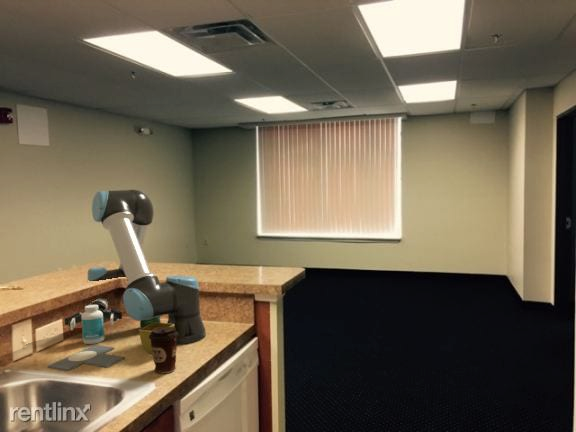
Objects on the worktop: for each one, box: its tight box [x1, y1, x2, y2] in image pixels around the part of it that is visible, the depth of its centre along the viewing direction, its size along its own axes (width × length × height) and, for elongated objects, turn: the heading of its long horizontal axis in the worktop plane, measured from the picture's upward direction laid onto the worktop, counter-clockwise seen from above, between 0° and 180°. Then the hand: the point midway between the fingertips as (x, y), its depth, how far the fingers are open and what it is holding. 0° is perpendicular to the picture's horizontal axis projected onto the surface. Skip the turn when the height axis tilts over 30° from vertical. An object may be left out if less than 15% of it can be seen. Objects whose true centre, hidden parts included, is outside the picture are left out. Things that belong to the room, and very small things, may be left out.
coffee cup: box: [149, 327, 178, 374], centre depth 144 cm, size 9×8×13 cm
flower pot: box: [138, 322, 174, 355], centre depth 160 cm, size 9×9×9 cm
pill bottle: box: [81, 304, 105, 345], centre depth 173 cm, size 8×7×14 cm
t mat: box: [47, 344, 126, 372], centre depth 156 cm, size 19×20×1 cm
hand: (91, 324), depth 170 cm, fingers open, 13 cm apart
